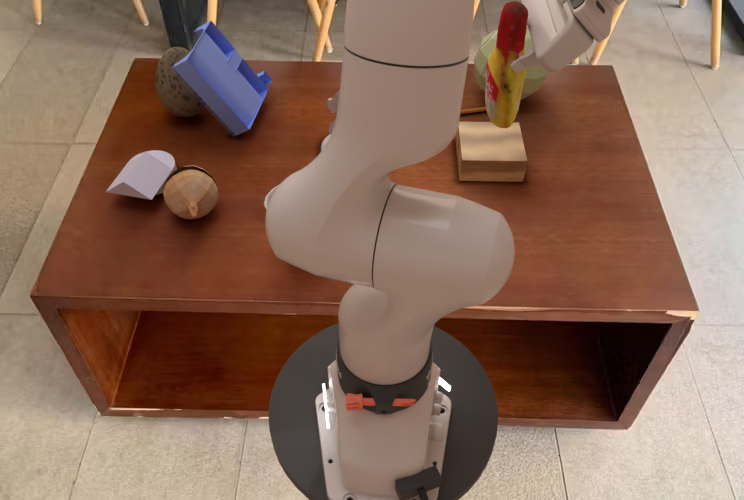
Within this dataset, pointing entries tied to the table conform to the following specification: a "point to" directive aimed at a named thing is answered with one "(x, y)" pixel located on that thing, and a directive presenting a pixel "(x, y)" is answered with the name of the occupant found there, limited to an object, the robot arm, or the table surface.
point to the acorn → (190, 192)
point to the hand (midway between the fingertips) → (509, 52)
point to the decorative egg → (176, 86)
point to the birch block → (490, 152)
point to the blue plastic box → (223, 79)
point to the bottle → (506, 66)
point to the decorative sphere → (533, 73)
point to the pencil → (473, 110)
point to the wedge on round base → (144, 175)
